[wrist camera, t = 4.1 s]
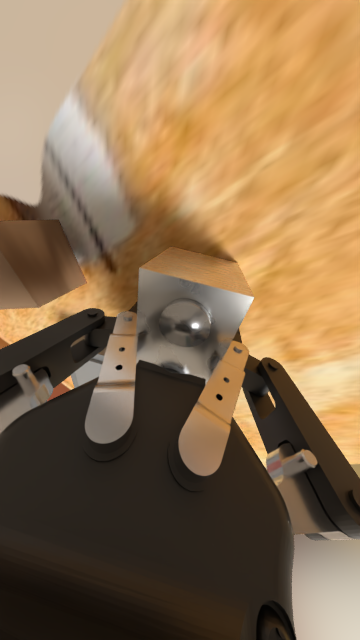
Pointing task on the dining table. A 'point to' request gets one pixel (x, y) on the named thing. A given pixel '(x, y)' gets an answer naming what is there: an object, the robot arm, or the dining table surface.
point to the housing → (189, 310)
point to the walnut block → (35, 264)
